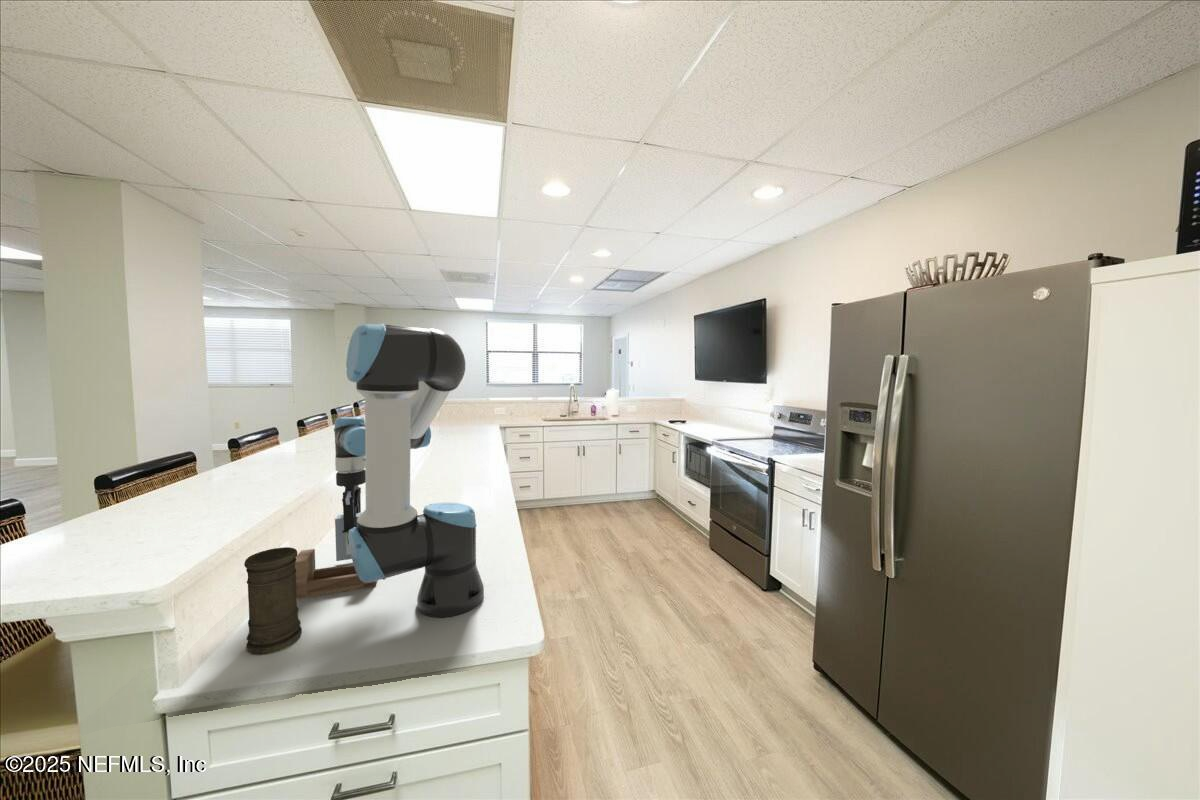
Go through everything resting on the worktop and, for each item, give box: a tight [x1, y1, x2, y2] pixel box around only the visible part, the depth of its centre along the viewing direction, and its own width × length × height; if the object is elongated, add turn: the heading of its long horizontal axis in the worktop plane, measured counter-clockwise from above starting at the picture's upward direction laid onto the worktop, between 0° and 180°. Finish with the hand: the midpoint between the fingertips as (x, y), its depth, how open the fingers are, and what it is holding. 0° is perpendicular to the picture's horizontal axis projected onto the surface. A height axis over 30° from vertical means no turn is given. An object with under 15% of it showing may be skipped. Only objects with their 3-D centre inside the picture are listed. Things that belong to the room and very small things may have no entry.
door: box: [334, 511, 364, 562], centre depth 120 cm, size 4×8×12 cm, turn 111°
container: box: [243, 546, 303, 656], centre depth 84 cm, size 9×9×18 cm
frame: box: [295, 548, 379, 599], centre depth 108 cm, size 8×18×9 cm, turn 111°
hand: (353, 550), depth 121 cm, fingers closed on door, 4 cm apart
